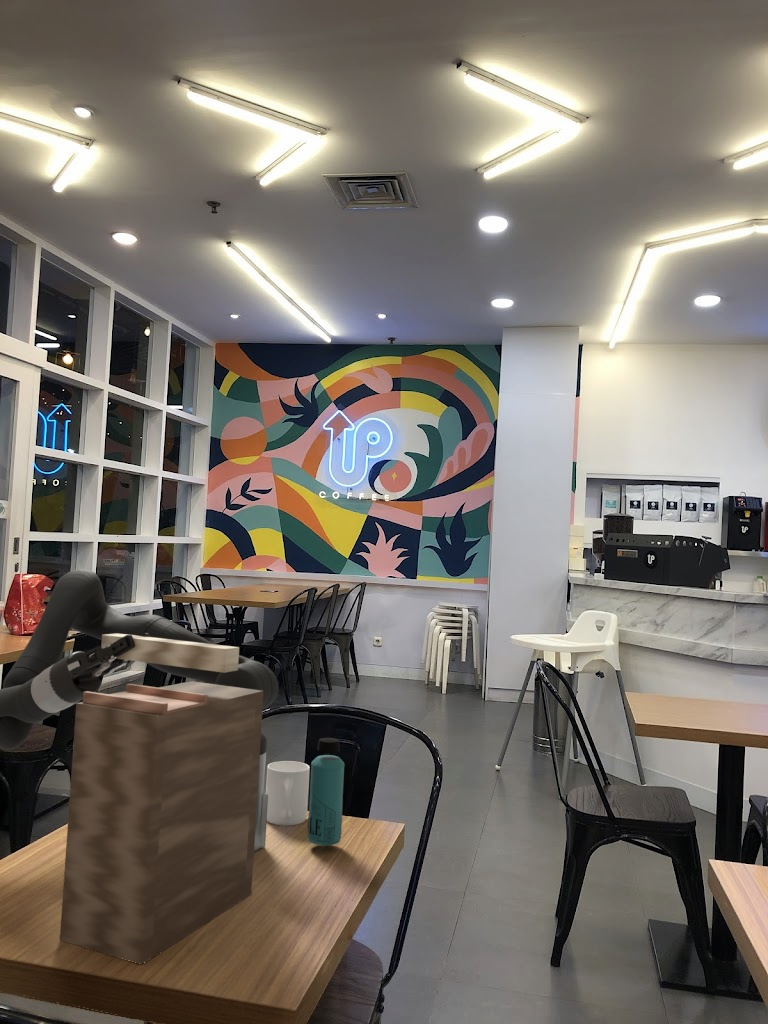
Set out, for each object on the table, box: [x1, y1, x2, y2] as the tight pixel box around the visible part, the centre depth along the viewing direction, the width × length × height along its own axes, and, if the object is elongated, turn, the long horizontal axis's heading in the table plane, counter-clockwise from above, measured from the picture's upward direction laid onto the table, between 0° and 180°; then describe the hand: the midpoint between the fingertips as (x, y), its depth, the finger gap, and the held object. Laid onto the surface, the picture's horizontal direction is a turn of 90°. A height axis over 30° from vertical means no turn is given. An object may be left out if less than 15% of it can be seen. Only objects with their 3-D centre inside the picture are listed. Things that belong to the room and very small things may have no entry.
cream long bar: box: [100, 633, 240, 673], centre depth 132 cm, size 24×4×4 cm, turn 66°
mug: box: [265, 760, 311, 827], centre depth 168 cm, size 9×12×11 cm
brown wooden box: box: [59, 680, 263, 964], centre depth 124 cm, size 14×26×33 cm, turn 156°
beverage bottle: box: [306, 737, 345, 846], centre depth 155 cm, size 6×7×20 cm
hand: (140, 639), depth 134 cm, fingers closed on cream long bar, 3 cm apart
